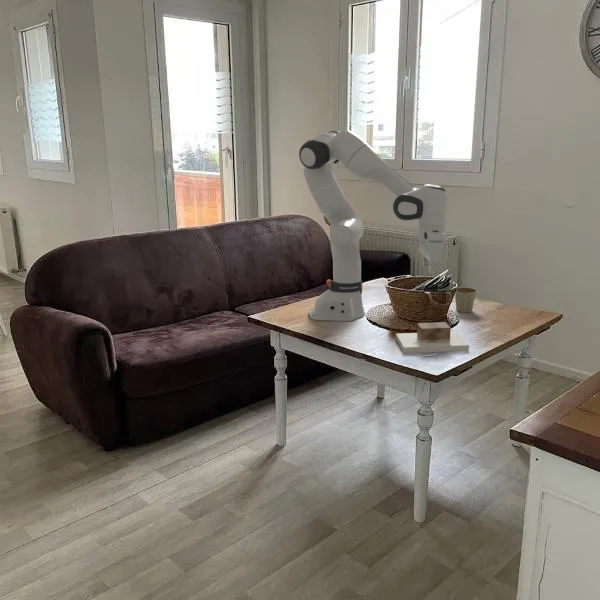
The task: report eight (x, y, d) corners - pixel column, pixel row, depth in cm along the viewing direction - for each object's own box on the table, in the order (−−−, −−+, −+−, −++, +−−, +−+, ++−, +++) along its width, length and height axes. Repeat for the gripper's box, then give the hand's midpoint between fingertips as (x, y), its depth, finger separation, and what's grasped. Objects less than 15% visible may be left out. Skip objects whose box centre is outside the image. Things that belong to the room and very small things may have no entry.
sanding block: (420, 342, 209) (421, 328, 208) (416, 336, 215) (417, 323, 213) (449, 341, 209) (450, 327, 208) (445, 335, 215) (445, 322, 214)
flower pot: (474, 307, 254) (475, 287, 251) (478, 314, 245) (479, 293, 242) (451, 307, 255) (452, 286, 252) (454, 313, 246) (455, 293, 243)
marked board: (403, 353, 205) (404, 347, 205) (395, 338, 219) (396, 333, 218) (468, 350, 206) (469, 345, 206) (456, 336, 220) (457, 331, 219)
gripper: (416, 226, 224) (413, 263, 228) (429, 237, 205) (425, 277, 209) (433, 226, 225) (430, 263, 229) (447, 237, 205) (444, 277, 209)
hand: (428, 269), depth 219 cm, fingers open, 8 cm apart
